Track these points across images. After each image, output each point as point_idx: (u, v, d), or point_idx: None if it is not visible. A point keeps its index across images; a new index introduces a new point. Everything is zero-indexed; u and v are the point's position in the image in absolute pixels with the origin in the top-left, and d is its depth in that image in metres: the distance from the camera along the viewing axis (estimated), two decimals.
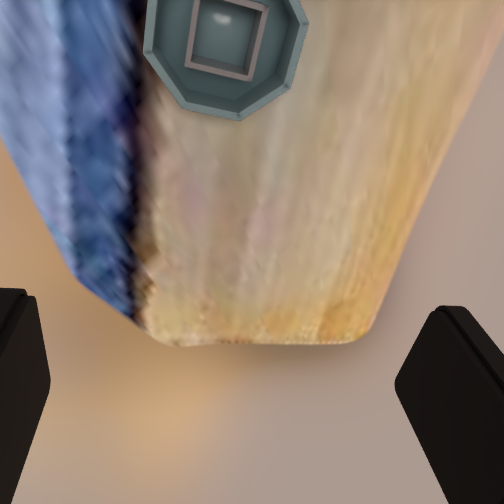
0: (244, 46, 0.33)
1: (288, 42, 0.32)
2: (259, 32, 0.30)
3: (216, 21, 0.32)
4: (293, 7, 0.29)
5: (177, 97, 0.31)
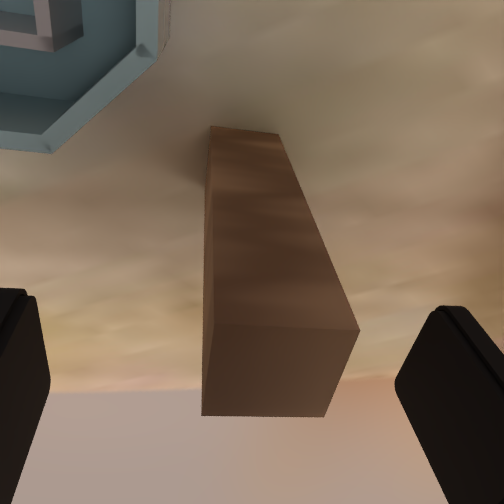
0: None
1: (16, 109, 0.14)
2: None
3: None
4: (68, 113, 0.13)
5: None
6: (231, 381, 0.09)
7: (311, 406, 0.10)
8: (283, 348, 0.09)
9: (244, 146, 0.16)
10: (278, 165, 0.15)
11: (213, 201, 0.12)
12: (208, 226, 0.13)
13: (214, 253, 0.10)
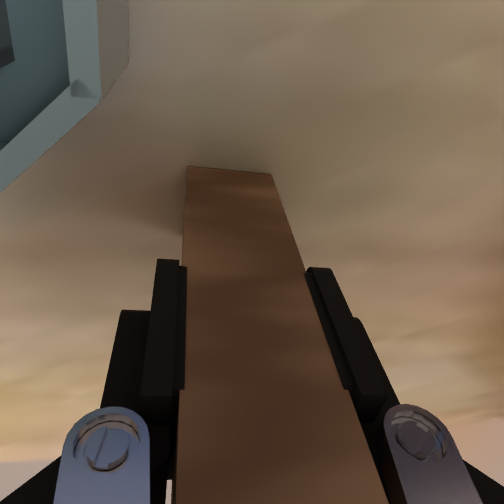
0: None
1: None
2: None
3: None
4: None
5: None
6: None
7: None
8: None
9: (229, 197, 0.13)
10: (273, 226, 0.12)
11: None
12: None
13: (181, 412, 0.07)
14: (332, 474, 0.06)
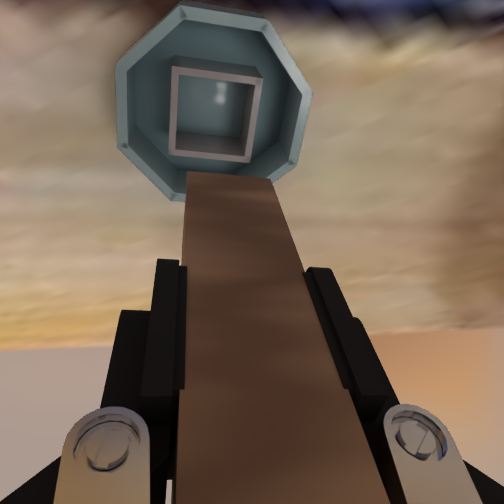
0: (199, 129, 0.28)
1: None
2: (223, 156, 0.26)
3: (220, 93, 0.27)
4: None
5: (130, 57, 0.22)
6: None
7: None
8: None
9: (228, 201, 0.13)
10: (272, 229, 0.12)
11: None
12: None
13: (181, 413, 0.06)
14: (333, 475, 0.06)
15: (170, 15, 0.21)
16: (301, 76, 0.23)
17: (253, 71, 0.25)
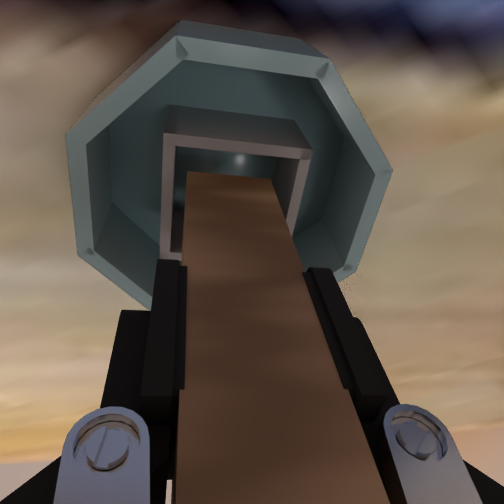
0: None
1: None
2: None
3: (239, 158, 0.18)
4: None
5: (90, 122, 0.13)
6: None
7: None
8: None
9: (228, 201, 0.13)
10: (272, 229, 0.12)
11: None
12: None
13: (181, 413, 0.06)
14: (333, 475, 0.06)
15: (159, 53, 0.12)
16: (376, 147, 0.14)
17: (293, 132, 0.16)
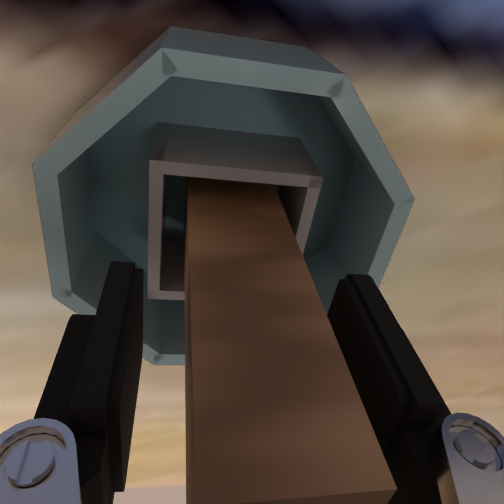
0: None
1: None
2: None
3: None
4: None
5: (61, 150, 0.11)
6: None
7: None
8: None
9: (227, 185, 0.14)
10: (268, 210, 0.13)
11: (191, 275, 0.10)
12: (187, 298, 0.11)
13: (193, 367, 0.07)
14: (326, 412, 0.07)
15: (142, 69, 0.10)
16: (397, 174, 0.12)
17: (300, 154, 0.14)
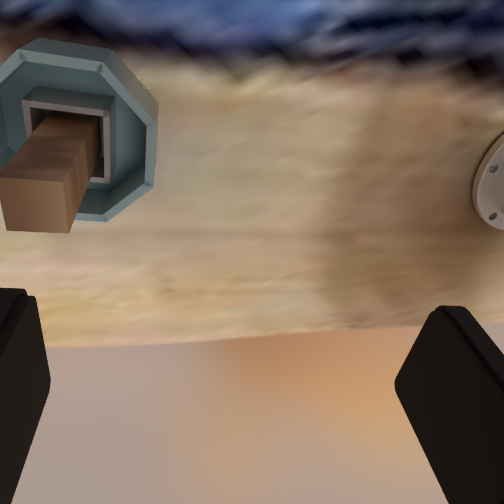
0: None
1: (86, 199, 0.32)
2: None
3: None
4: (115, 206, 0.30)
5: None
6: (14, 209, 0.21)
7: (59, 226, 0.21)
8: (31, 191, 0.20)
9: (69, 116, 0.28)
10: (83, 125, 0.27)
11: (27, 139, 0.24)
12: None
13: (12, 157, 0.21)
14: (53, 169, 0.21)
15: (10, 57, 0.24)
16: (142, 110, 0.26)
17: (106, 102, 0.28)
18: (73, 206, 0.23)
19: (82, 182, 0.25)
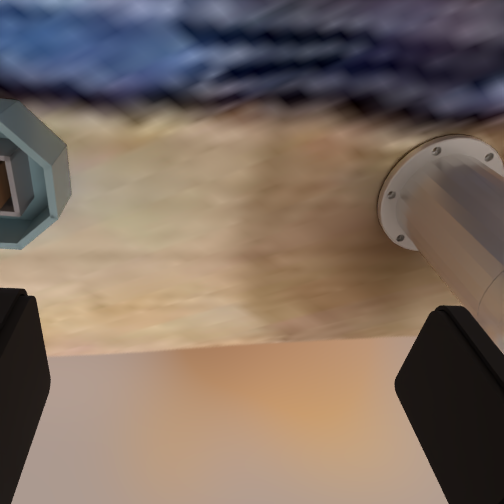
0: None
1: (7, 228, 0.36)
2: None
3: None
4: (26, 236, 0.34)
5: None
6: None
7: None
8: None
9: None
10: None
11: None
12: None
13: None
14: None
15: None
16: (37, 155, 0.30)
17: (12, 147, 0.32)
18: None
19: None
